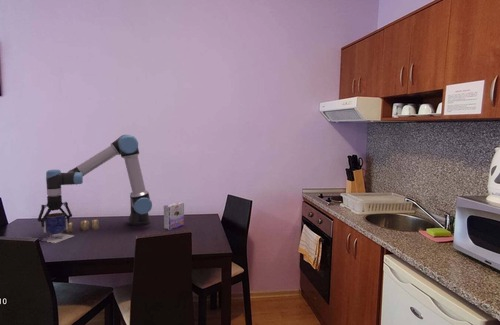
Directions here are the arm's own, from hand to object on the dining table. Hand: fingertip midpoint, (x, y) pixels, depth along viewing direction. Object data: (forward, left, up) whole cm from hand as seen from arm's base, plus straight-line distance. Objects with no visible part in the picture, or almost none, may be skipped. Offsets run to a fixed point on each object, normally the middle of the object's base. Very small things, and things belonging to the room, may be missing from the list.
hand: (55, 230), depth 198 cm
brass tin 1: (+4, -13, -5) cm, 15 cm away
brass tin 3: (-7, -24, -5) cm, 26 cm away
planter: (0, 0, -2) cm, 2 cm away
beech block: (+2, -24, -5) cm, 25 cm away
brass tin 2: (-2, -20, -5) cm, 21 cm away
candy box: (-55, -46, -5) cm, 72 cm away
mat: (0, 0, -5) cm, 5 cm away
